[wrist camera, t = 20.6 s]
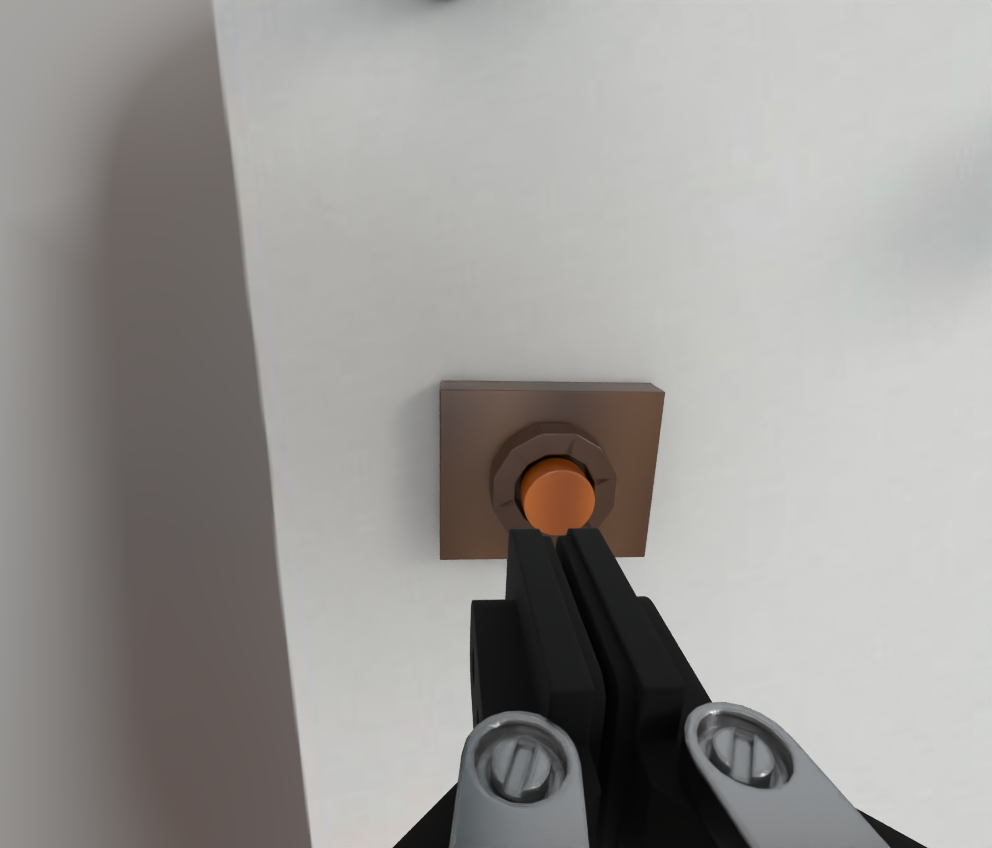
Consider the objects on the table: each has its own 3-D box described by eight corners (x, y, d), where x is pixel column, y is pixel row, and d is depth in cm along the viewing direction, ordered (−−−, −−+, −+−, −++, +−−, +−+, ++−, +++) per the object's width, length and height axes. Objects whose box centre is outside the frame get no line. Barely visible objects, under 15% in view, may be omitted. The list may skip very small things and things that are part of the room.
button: (518, 520, 29) (522, 536, 27) (521, 457, 28) (525, 470, 26) (584, 519, 29) (592, 535, 28) (589, 457, 28) (598, 469, 27)
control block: (440, 540, 33) (439, 578, 29) (440, 380, 30) (438, 398, 26) (632, 538, 34) (655, 574, 30) (651, 382, 31) (679, 400, 27)
